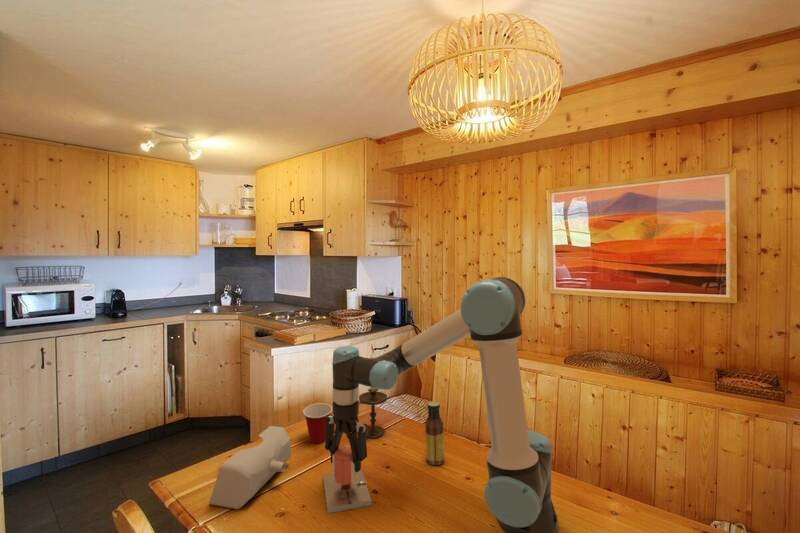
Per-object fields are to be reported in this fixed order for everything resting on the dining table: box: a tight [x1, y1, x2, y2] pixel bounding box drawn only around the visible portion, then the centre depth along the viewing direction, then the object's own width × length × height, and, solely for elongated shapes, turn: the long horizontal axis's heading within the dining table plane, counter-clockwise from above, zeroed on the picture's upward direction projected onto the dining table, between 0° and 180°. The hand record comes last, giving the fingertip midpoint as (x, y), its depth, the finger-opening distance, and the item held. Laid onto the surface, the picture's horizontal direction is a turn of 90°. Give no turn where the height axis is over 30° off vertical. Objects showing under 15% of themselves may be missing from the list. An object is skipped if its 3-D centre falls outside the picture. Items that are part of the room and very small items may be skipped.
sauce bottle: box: [424, 400, 445, 466], centre depth 127 cm, size 6×6×20 cm
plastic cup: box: [302, 402, 333, 445], centre depth 141 cm, size 11×11×12 cm
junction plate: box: [322, 468, 372, 514], centre depth 111 cm, size 16×12×10 cm
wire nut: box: [335, 445, 354, 485], centre depth 111 cm, size 6×6×8 cm
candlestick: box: [358, 343, 388, 440], centre depth 146 cm, size 11×11×35 cm
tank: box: [208, 425, 292, 510], centre depth 114 cm, size 25×16×12 cm, turn 167°
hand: (345, 477), depth 111 cm, fingers closed on wire nut, 6 cm apart
